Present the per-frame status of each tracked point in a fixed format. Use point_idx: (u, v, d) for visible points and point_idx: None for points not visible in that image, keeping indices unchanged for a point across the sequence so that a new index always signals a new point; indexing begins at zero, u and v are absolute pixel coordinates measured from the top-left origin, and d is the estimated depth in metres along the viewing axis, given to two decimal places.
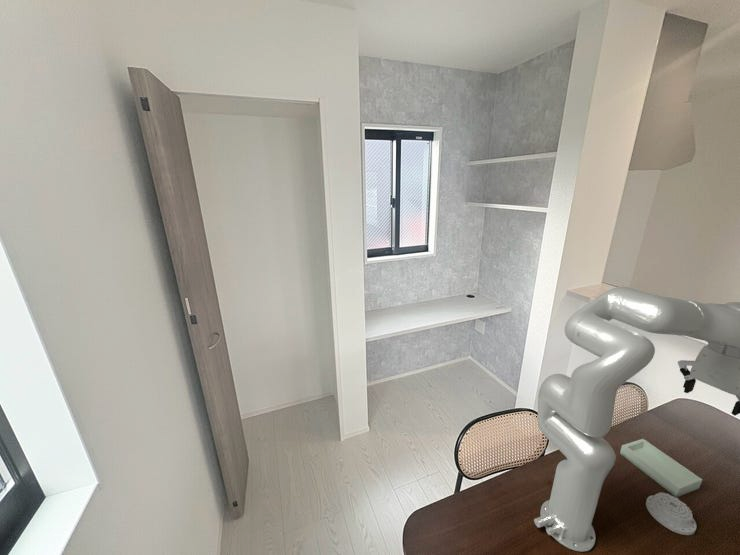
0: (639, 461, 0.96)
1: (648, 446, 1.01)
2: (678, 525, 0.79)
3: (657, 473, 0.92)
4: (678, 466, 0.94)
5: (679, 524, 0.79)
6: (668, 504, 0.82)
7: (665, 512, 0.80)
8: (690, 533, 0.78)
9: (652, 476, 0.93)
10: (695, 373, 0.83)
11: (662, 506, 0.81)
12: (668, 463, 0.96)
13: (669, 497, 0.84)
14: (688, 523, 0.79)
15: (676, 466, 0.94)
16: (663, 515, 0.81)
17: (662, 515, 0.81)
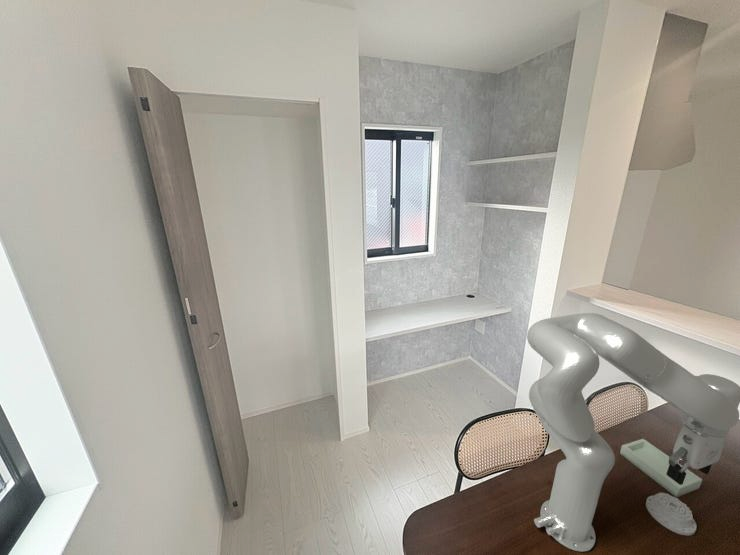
0: (639, 461, 0.96)
1: (648, 446, 1.01)
2: (678, 525, 0.79)
3: (657, 473, 0.92)
4: None
5: (679, 524, 0.79)
6: (668, 504, 0.82)
7: (665, 513, 0.80)
8: (690, 533, 0.78)
9: (652, 476, 0.93)
10: (698, 464, 0.73)
11: (662, 506, 0.81)
12: (668, 463, 0.96)
13: (669, 497, 0.83)
14: (688, 523, 0.79)
15: None
16: (663, 515, 0.81)
17: (662, 515, 0.81)
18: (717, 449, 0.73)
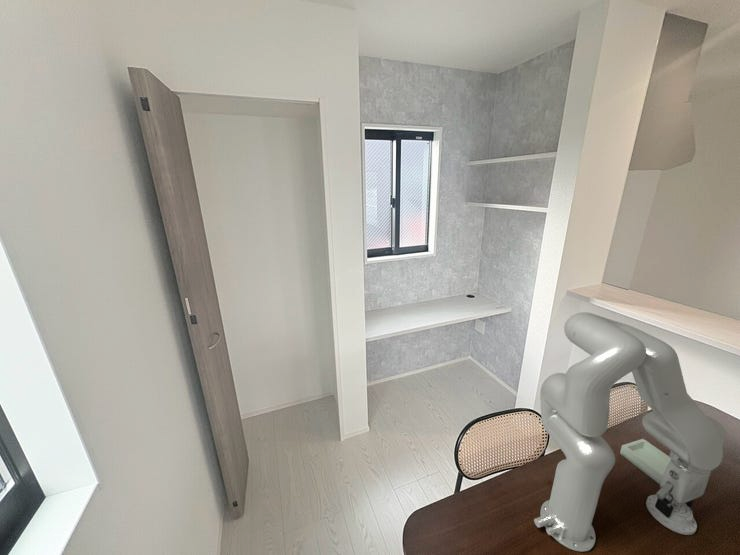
0: (639, 461, 0.96)
1: (648, 446, 1.01)
2: (678, 525, 0.79)
3: (657, 473, 0.92)
4: None
5: (679, 524, 0.79)
6: None
7: None
8: (690, 533, 0.78)
9: (652, 476, 0.93)
10: (683, 499, 0.76)
11: None
12: (668, 463, 0.96)
13: (669, 497, 0.83)
14: (689, 522, 0.78)
15: None
16: (663, 515, 0.81)
17: (662, 515, 0.81)
18: (701, 484, 0.77)
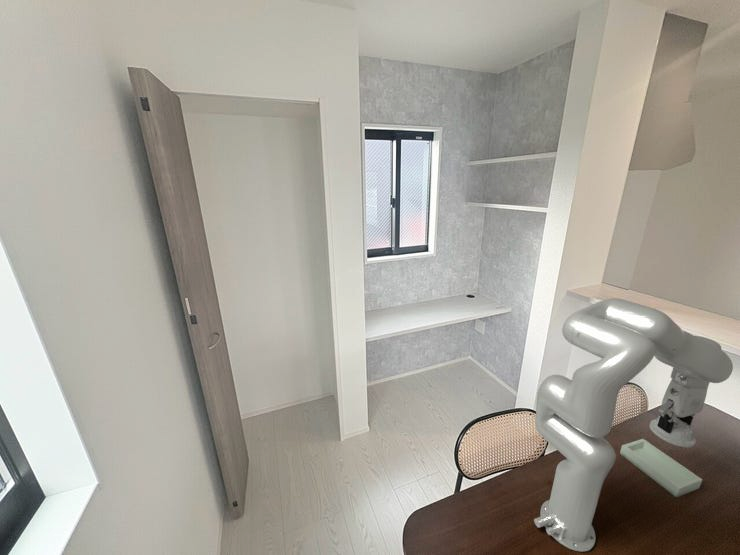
0: (639, 461, 0.96)
1: (648, 446, 1.01)
2: (679, 439, 0.87)
3: (657, 473, 0.92)
4: (678, 466, 0.94)
5: (680, 438, 0.87)
6: None
7: None
8: (689, 445, 0.86)
9: (652, 476, 0.93)
10: (683, 413, 0.85)
11: None
12: (668, 463, 0.96)
13: None
14: (688, 436, 0.87)
15: (676, 466, 0.94)
16: (665, 432, 0.89)
17: (664, 432, 0.89)
18: (699, 400, 0.85)
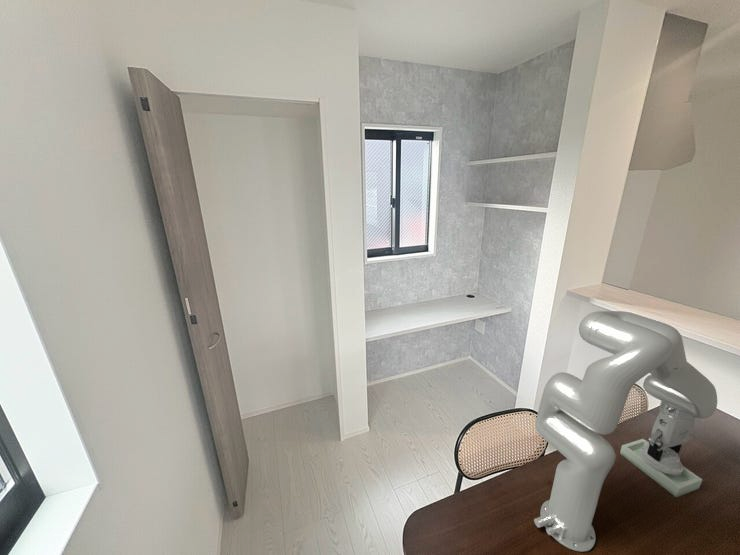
0: (639, 461, 0.96)
1: None
2: (667, 467, 0.91)
3: (657, 473, 0.92)
4: None
5: (668, 466, 0.91)
6: None
7: None
8: (677, 473, 0.90)
9: (652, 476, 0.93)
10: (671, 443, 0.89)
11: None
12: None
13: None
14: (676, 464, 0.91)
15: None
16: (654, 459, 0.93)
17: (654, 459, 0.93)
18: (687, 431, 0.89)
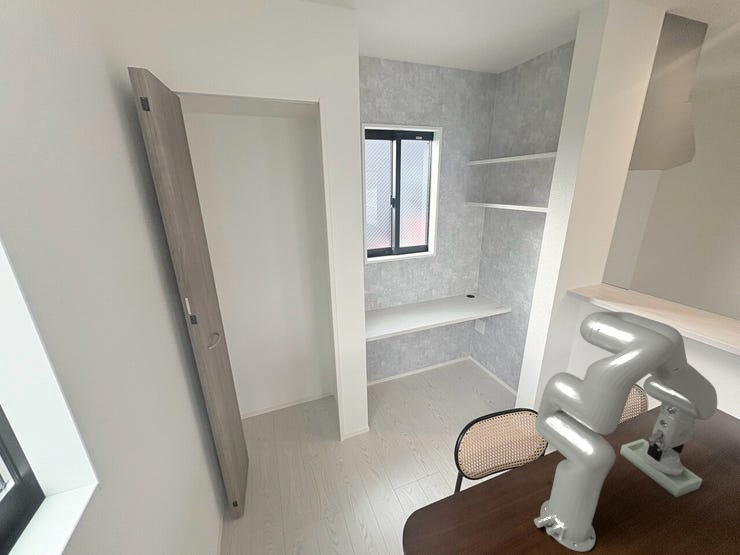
0: (639, 461, 0.96)
1: None
2: (667, 467, 0.91)
3: (657, 473, 0.92)
4: None
5: (668, 466, 0.91)
6: None
7: None
8: (677, 473, 0.90)
9: (652, 476, 0.93)
10: (672, 444, 0.89)
11: None
12: None
13: None
14: (676, 464, 0.91)
15: None
16: (654, 459, 0.93)
17: (654, 459, 0.93)
18: (687, 431, 0.89)
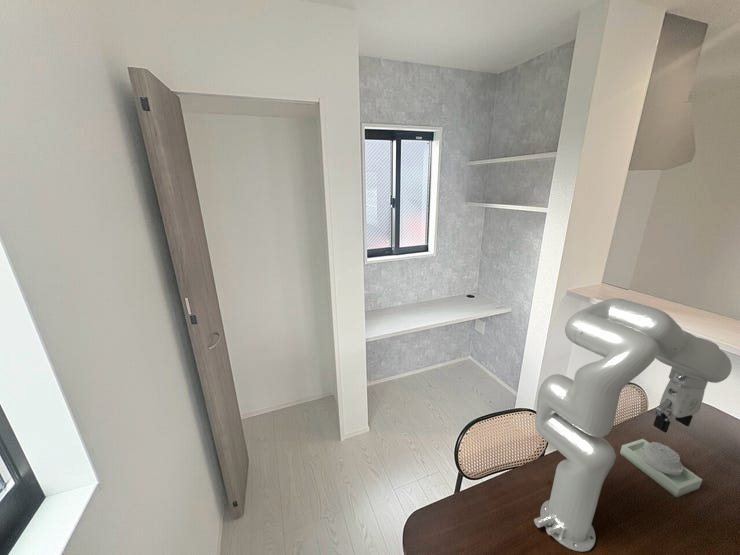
0: (639, 461, 0.96)
1: None
2: (667, 467, 0.91)
3: (657, 473, 0.92)
4: None
5: (668, 466, 0.91)
6: (659, 450, 0.94)
7: (656, 457, 0.93)
8: (677, 473, 0.90)
9: (652, 476, 0.93)
10: (681, 413, 0.85)
11: (654, 452, 0.94)
12: None
13: (660, 445, 0.96)
14: (676, 464, 0.91)
15: None
16: (654, 459, 0.93)
17: (654, 459, 0.93)
18: (697, 401, 0.86)
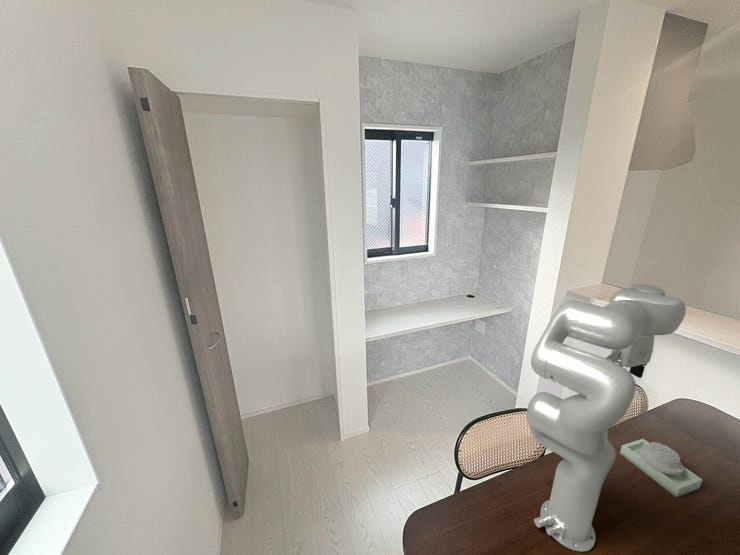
0: (639, 461, 0.96)
1: None
2: (667, 467, 0.91)
3: (657, 473, 0.92)
4: None
5: (668, 466, 0.91)
6: (659, 450, 0.94)
7: (656, 457, 0.93)
8: (677, 473, 0.90)
9: (652, 476, 0.93)
10: (630, 362, 0.84)
11: (654, 452, 0.94)
12: None
13: (660, 445, 0.96)
14: (676, 464, 0.91)
15: None
16: (654, 459, 0.93)
17: (654, 459, 0.93)
18: (646, 350, 0.84)
